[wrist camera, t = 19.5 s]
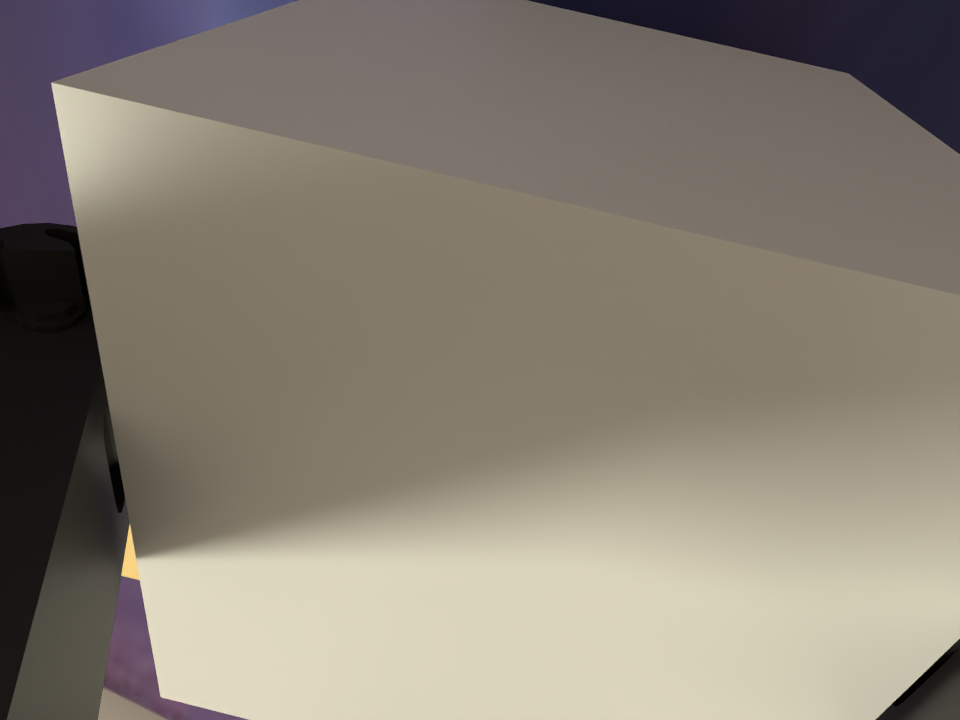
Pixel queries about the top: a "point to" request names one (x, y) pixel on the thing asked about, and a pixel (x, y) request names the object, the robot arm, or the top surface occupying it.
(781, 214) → the cover
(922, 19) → the top surface
